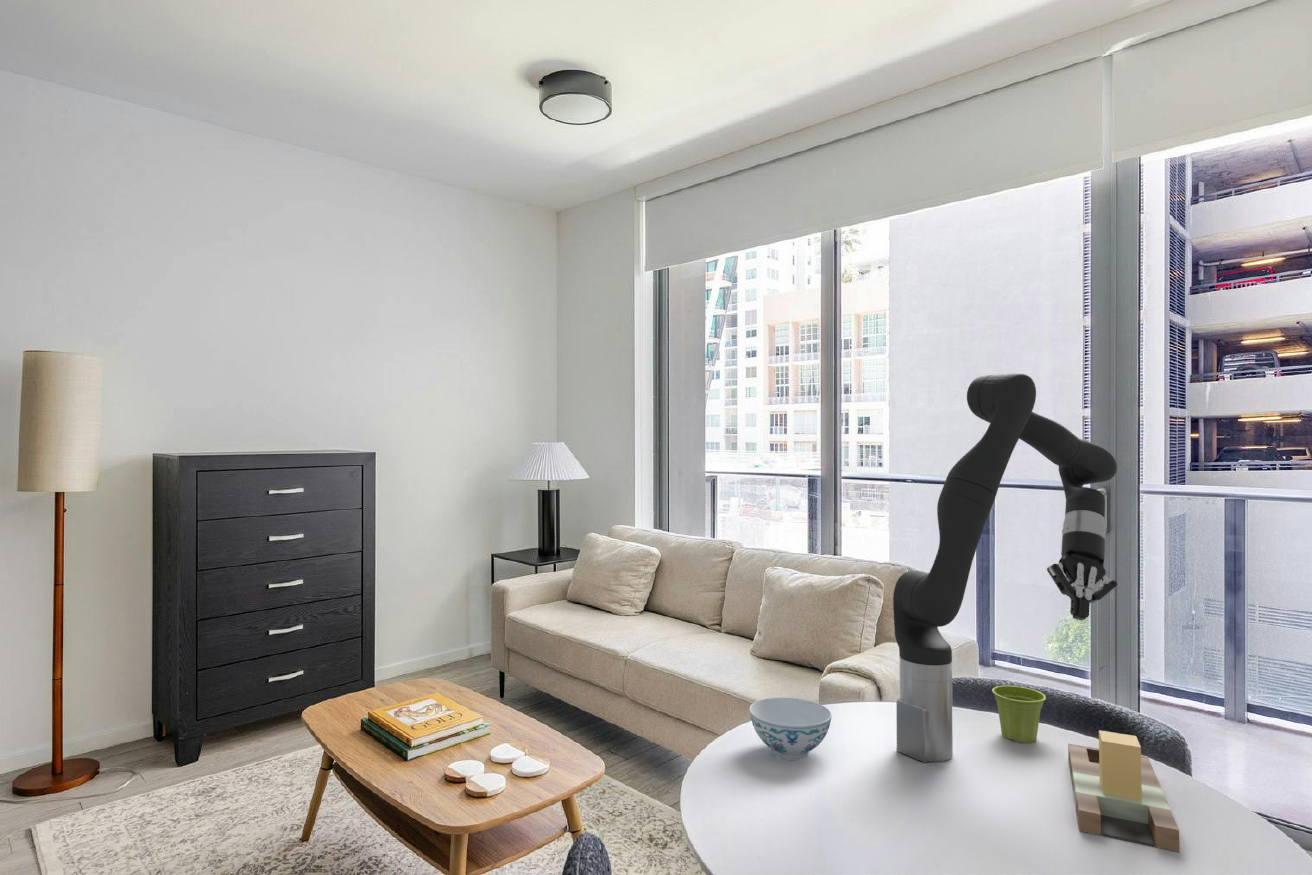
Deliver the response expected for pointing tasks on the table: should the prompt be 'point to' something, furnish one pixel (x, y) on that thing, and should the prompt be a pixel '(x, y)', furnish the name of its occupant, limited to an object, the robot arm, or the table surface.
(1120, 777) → the ochre block
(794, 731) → the chinaware
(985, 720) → the table surface
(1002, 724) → the plant pot
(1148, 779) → the box
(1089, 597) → the robot arm
